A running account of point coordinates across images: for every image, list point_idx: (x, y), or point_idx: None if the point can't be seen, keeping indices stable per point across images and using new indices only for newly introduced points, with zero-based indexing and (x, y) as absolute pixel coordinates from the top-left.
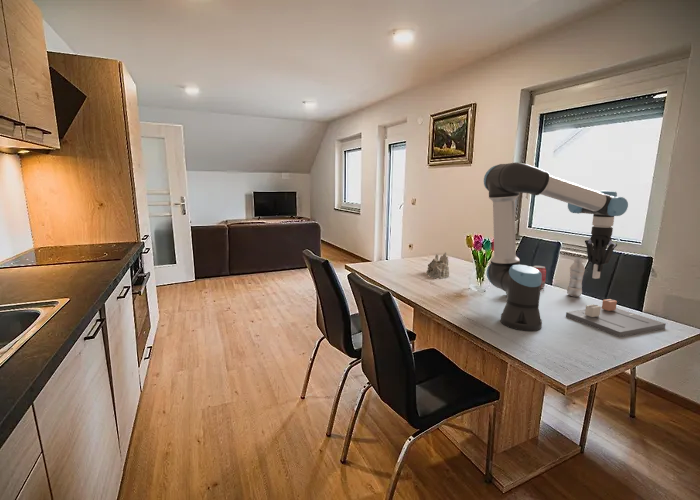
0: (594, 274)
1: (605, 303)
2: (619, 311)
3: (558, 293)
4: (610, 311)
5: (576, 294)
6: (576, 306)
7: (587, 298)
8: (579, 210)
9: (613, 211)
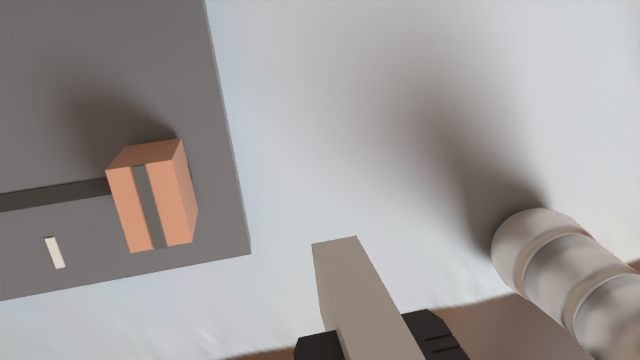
0: (342, 269)
1: (148, 156)
2: None
3: (594, 183)
4: None
5: (502, 233)
6: (354, 83)
7: (458, 283)
8: None
9: None
